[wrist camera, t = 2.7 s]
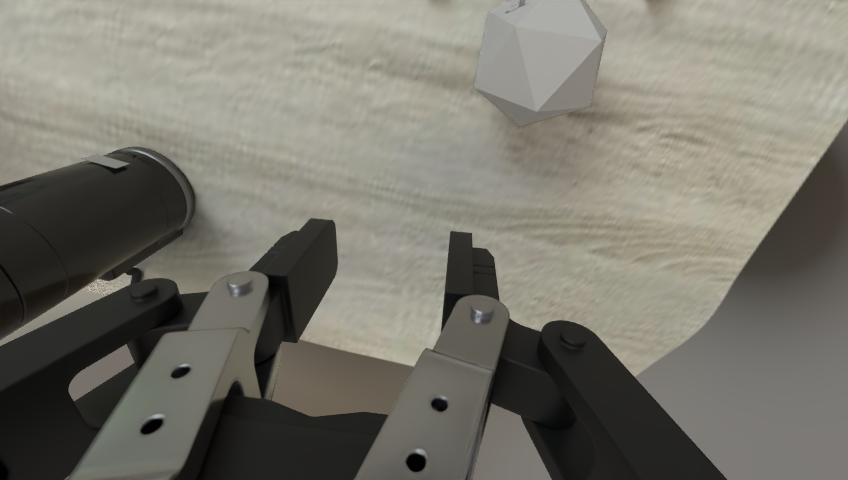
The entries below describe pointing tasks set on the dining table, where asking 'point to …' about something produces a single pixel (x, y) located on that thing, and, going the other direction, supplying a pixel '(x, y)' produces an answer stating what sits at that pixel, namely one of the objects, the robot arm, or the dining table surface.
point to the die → (540, 58)
